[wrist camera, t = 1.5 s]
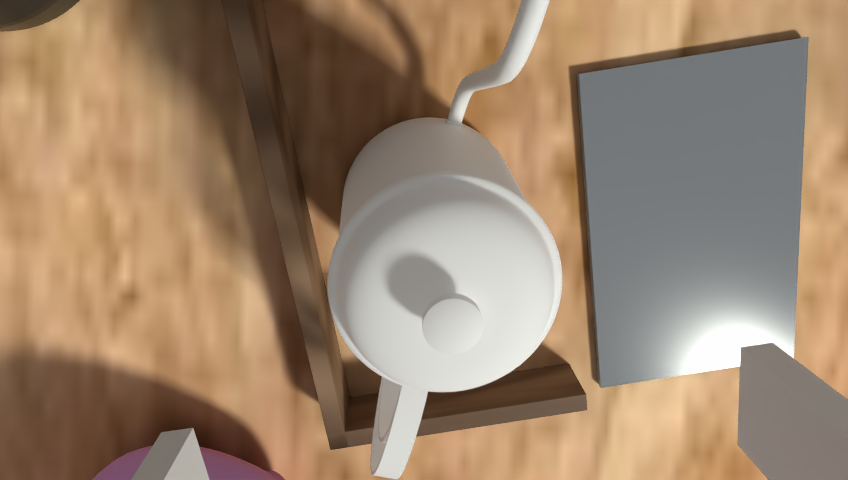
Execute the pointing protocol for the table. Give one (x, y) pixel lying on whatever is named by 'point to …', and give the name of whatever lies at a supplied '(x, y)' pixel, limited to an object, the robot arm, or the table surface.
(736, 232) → the trivet
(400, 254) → the coffeepot
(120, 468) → the teapot
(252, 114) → the bracket
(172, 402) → the table surface
